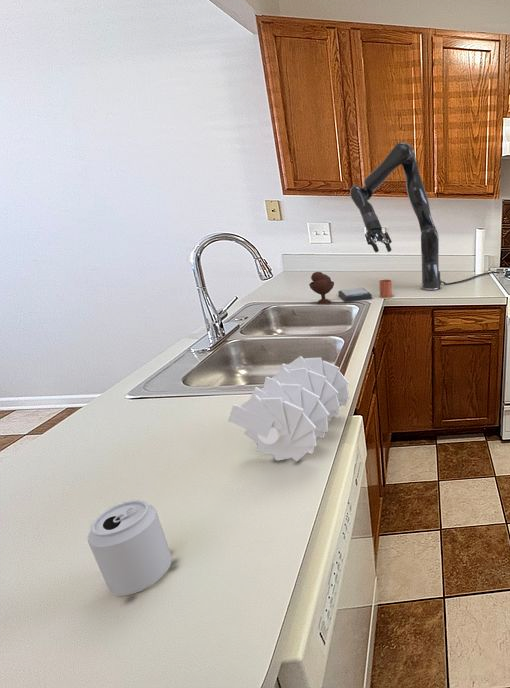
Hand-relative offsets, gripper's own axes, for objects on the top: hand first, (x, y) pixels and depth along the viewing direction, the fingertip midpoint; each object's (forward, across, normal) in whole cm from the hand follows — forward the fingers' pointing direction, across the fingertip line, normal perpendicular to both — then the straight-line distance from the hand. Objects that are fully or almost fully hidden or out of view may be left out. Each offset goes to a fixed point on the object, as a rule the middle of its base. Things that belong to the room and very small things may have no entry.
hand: (383, 251), depth 202 cm
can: (+78, -131, -54) cm, 162 cm away
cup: (+21, -3, +8) cm, 23 cm away
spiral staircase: (+69, -96, -46) cm, 127 cm away
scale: (+16, -14, +17) cm, 27 cm away
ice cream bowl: (+15, -29, +22) cm, 39 cm away
